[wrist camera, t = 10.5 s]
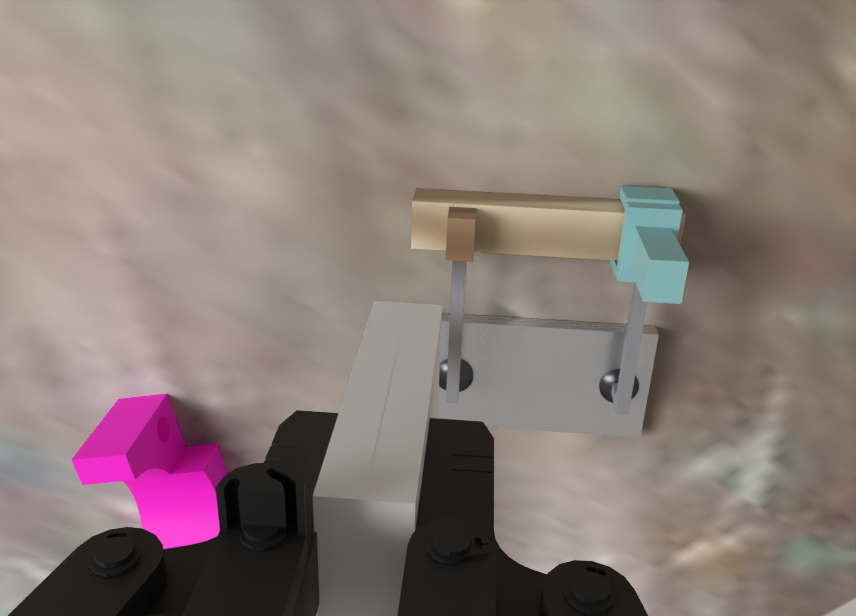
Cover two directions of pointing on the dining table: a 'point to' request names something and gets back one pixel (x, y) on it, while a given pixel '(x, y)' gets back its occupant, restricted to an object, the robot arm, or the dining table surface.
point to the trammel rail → (510, 238)
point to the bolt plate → (545, 375)
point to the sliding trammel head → (646, 269)
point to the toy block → (156, 469)
